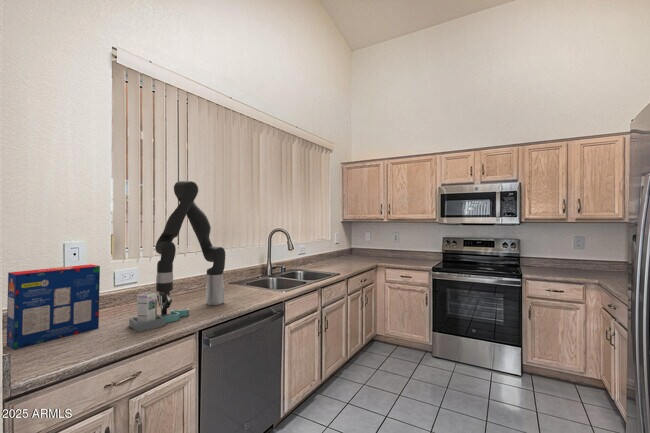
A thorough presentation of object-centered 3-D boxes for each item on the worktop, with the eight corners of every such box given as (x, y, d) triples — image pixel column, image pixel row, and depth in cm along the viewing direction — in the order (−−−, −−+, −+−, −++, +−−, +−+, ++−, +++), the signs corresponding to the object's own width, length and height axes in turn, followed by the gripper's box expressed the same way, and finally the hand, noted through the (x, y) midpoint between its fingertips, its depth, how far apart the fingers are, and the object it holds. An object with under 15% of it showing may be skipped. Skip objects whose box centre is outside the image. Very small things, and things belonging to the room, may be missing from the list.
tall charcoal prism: (170, 318, 160) (170, 313, 160) (173, 319, 158) (173, 314, 158) (158, 320, 156) (159, 315, 156) (161, 322, 154) (161, 316, 154)
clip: (175, 317, 160) (175, 311, 160) (179, 320, 157) (180, 313, 157) (158, 321, 154) (158, 315, 154) (162, 323, 151) (162, 317, 151)
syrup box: (147, 327, 144) (148, 295, 144) (136, 326, 145) (137, 294, 145) (156, 323, 150) (157, 292, 150) (146, 322, 151) (146, 291, 151)
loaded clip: (188, 313, 168) (188, 307, 168) (188, 315, 163) (188, 310, 163) (171, 314, 165) (171, 309, 165) (170, 317, 160) (170, 311, 160)
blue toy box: (89, 325, 147) (91, 264, 147) (98, 328, 143) (99, 265, 143) (6, 345, 123) (8, 272, 123) (14, 350, 119) (15, 274, 119)
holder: (154, 320, 155) (155, 313, 155) (164, 326, 148) (164, 318, 148) (129, 326, 147) (129, 318, 147) (137, 332, 139) (137, 323, 140)
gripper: (178, 282, 158) (177, 317, 157) (167, 278, 167) (166, 311, 166) (161, 284, 152) (161, 320, 152) (151, 280, 161) (150, 314, 161)
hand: (163, 316), depth 159 cm, fingers closed
